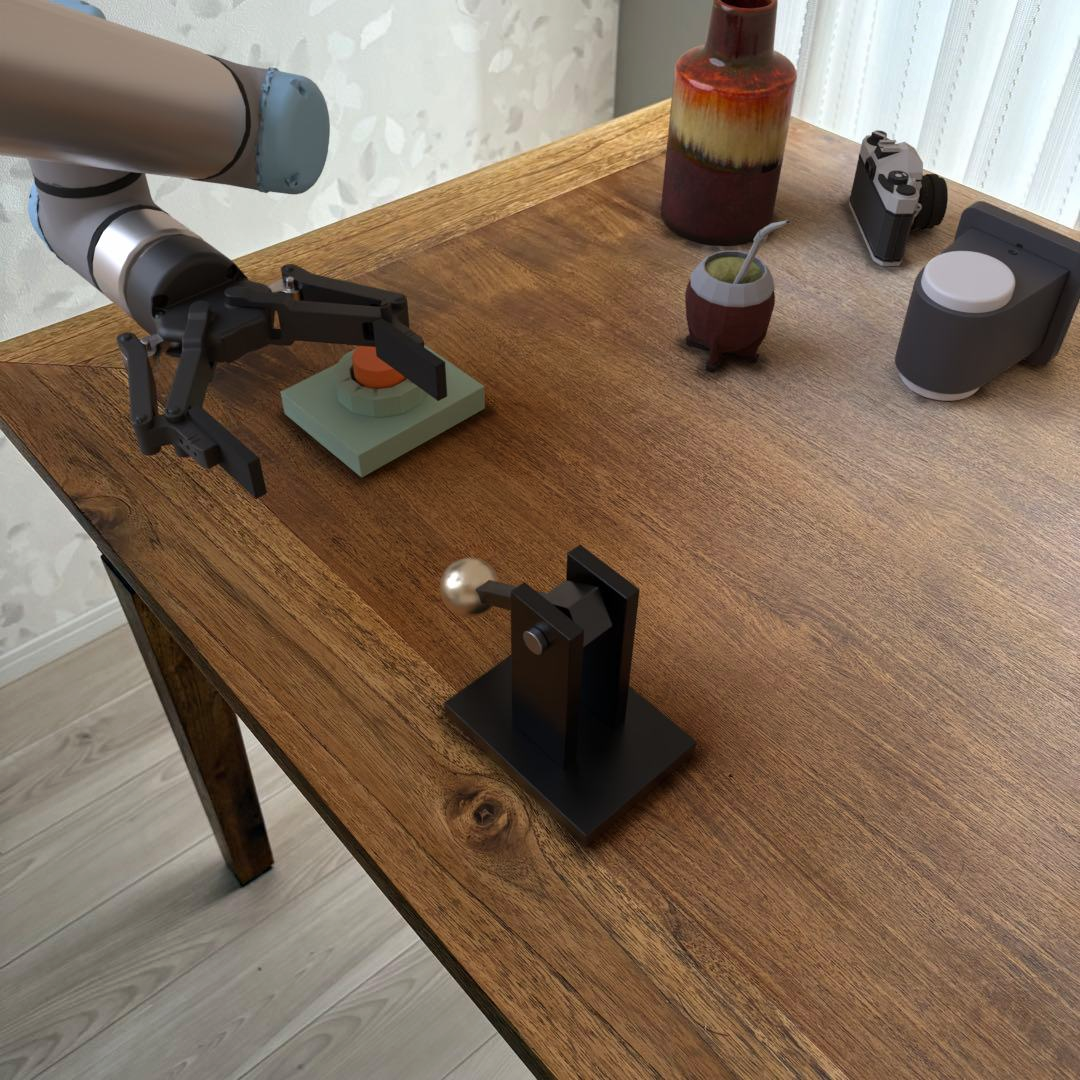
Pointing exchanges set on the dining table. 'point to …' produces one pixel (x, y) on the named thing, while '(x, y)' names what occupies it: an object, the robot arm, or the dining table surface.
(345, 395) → the button box
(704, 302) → the mate gourd
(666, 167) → the vase
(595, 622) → the switch lever
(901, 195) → the camera
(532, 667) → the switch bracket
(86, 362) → the dining table surface
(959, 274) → the light fixture
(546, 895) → the dining table surface
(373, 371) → the button
